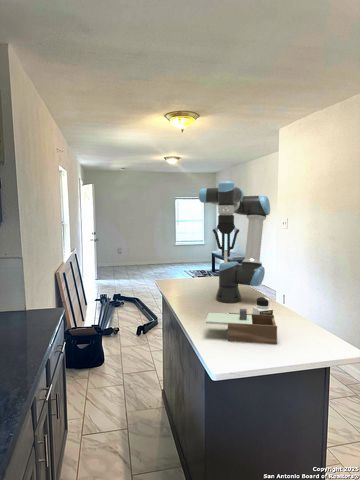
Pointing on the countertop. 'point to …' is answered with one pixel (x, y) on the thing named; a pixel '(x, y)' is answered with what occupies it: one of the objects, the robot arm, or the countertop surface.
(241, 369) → the countertop surface
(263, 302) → the medicine bottle
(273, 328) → the box
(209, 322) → the lid
